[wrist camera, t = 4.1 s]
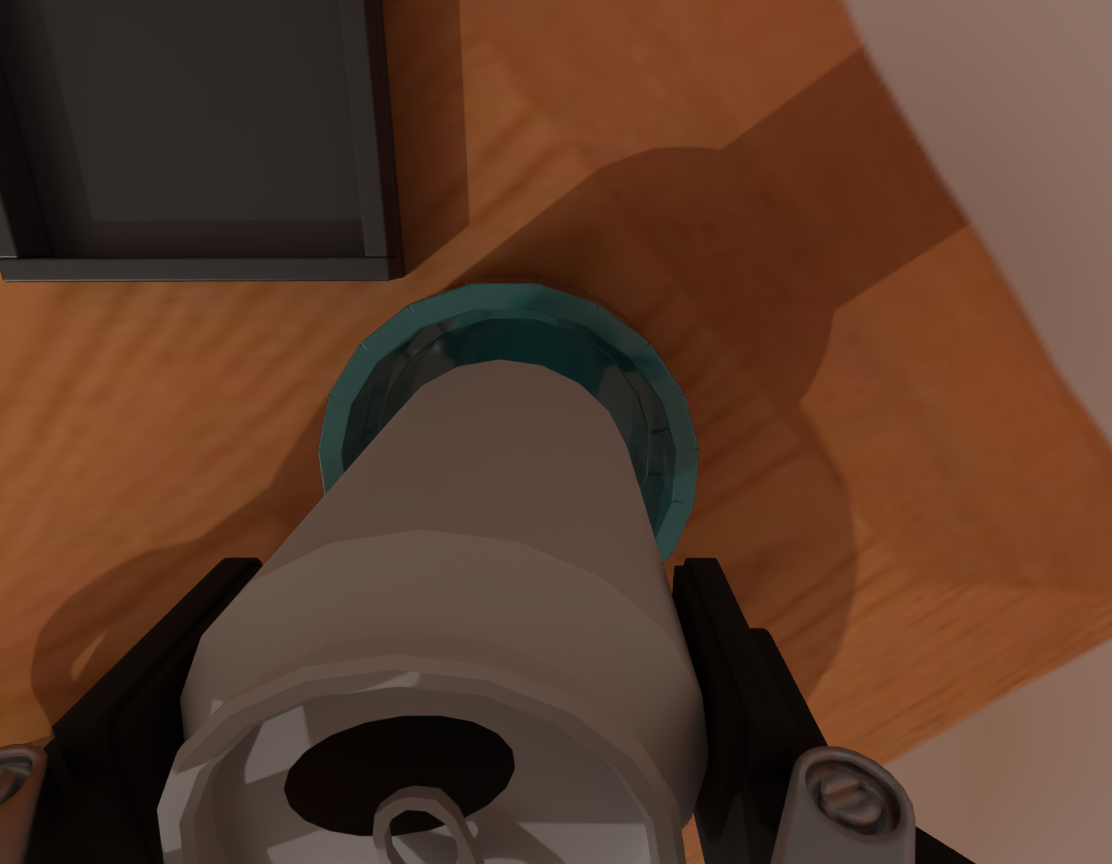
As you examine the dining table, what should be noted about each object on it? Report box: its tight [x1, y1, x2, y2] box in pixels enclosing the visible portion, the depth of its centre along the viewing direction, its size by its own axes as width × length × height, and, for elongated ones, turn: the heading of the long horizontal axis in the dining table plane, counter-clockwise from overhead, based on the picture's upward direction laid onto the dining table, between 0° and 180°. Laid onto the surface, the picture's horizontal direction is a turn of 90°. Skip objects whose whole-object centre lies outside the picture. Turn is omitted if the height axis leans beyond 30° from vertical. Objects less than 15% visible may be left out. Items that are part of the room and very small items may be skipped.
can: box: [157, 359, 708, 864], centre depth 12 cm, size 8×8×12 cm
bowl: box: [318, 275, 699, 564], centre depth 22 cm, size 13×13×5 cm
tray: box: [0, 0, 405, 282], centre depth 19 cm, size 14×14×2 cm
